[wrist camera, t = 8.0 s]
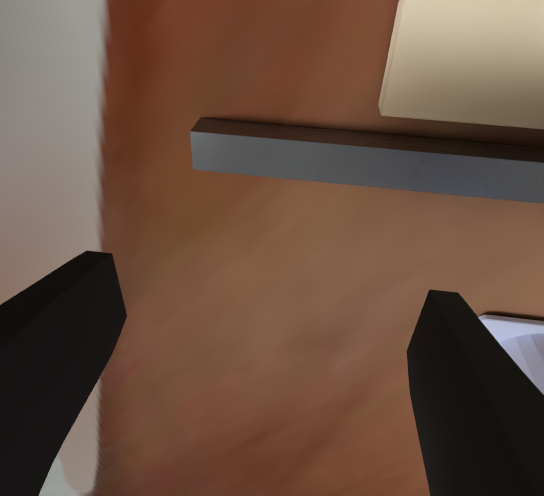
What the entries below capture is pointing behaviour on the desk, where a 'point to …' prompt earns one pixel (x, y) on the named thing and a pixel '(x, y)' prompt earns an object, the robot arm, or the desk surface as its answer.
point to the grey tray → (370, 159)
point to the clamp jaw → (467, 62)
